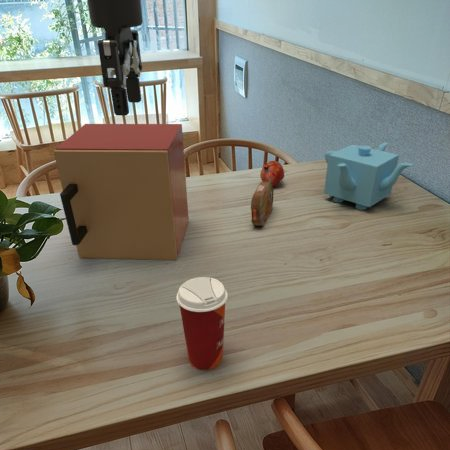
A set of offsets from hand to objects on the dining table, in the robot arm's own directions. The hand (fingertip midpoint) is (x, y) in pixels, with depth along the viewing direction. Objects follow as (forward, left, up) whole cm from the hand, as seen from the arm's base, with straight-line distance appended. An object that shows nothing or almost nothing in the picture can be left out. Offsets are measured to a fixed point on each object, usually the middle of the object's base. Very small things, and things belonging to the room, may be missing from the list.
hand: (128, 108), depth 73 cm
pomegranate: (+26, +54, -34) cm, 69 cm away
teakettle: (+50, +43, -34) cm, 74 cm away
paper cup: (+14, -22, -34) cm, 43 cm away
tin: (+23, +31, -34) cm, 51 cm away
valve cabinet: (-7, +19, -34) cm, 40 cm away
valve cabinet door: (-7, +6, -34) cm, 35 cm away
